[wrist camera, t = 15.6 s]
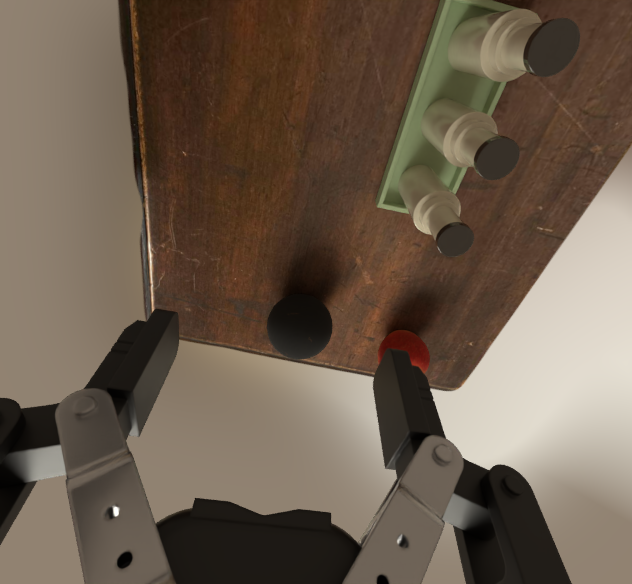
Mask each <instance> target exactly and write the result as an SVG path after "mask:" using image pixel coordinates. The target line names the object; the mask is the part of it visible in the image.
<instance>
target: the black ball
mask: <svg viewBox="0 0 632 584" xmlns="http://www.w3.org/2000/svg"><path fill="white" fill-rule="evenodd" d="M267 331H268V336H269V339H270V341H271V343H272V345H273V346H274V347H275V349H276V350H277V351H278V352H280V353H281V354H283V355H284V356H286V357H289V358H292V359H307V358H310V357H313V356H315V355H317V354H318V353H320V352H321V351H322V350H323V349H324V348H325V347H326V345H327V344H328V342H329V340H330V337H331V334H332V319H331V316H330V313H329V311H328V309H327V308H326V306H325V305H324V304H323V303H322V302H321V301H320V300H318V299H317V298H315V297H313V296H310V295H306V294H294V295H290V296H287V297H285V298H283V299H282V300H280V301H279V302H278V303H277V304H276V305H275V306H274V307H273V309H272V310H271V312H270V315H269V318H268V322H267Z"/></svg>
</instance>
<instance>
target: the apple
mask: <svg viewBox="0 0 632 584" xmlns="http://www.w3.org/2000/svg"><path fill="white" fill-rule="evenodd" d="M387 348H392V349H398V350H404V351H407V352H408V353H409V356H410V360H411V363H412V365H414V366H419V368H420V369H421V370H422V372H423V373H425V372H426V371H427V369H428V366H429V361H430V356H429V351H428V349H427V346H426V345H425V343H424V342H423V341H422V340H421V339H420V338H419V337H418V336H417V335H415V334H414V333H412V332H410V331H407V330H396V331H394V332H392V333H390V334H389V335H388V336H387V337H386V338H385V339H384V340H383V341H382V343H381V345H380V347H379V350H378V362H379V364H380V362H381V360H382V357H383V355H384V353H385V351H386V349H387Z"/></svg>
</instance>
